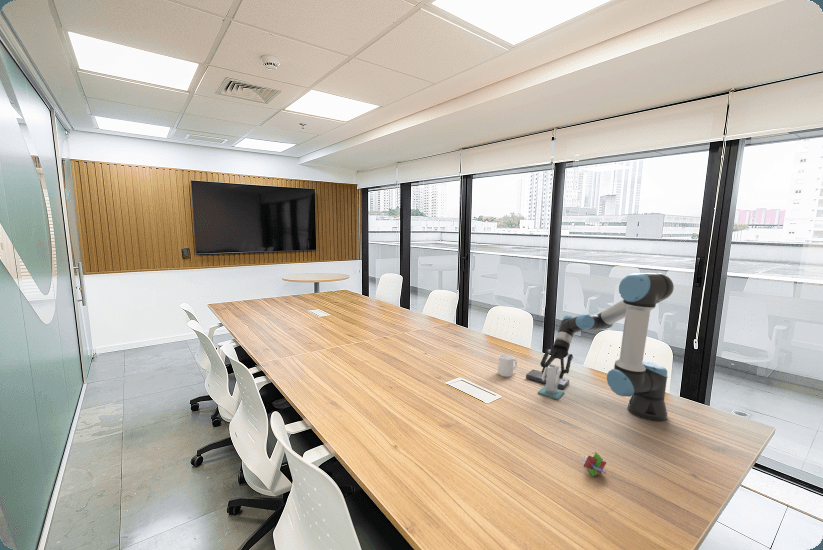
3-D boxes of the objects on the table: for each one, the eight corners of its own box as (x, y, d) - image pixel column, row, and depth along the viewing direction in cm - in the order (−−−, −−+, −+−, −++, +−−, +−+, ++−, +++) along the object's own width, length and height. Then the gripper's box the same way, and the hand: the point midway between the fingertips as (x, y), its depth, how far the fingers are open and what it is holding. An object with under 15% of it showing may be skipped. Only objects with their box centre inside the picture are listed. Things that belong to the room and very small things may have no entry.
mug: (511, 369, 209) (512, 352, 207) (521, 375, 201) (522, 357, 200) (494, 372, 204) (495, 355, 202) (504, 378, 196) (505, 360, 195)
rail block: (569, 383, 191) (569, 379, 191) (563, 389, 183) (563, 384, 183) (532, 373, 204) (533, 369, 203) (525, 378, 196) (526, 374, 196)
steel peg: (557, 391, 178) (559, 367, 177) (554, 394, 175) (556, 369, 174) (548, 388, 181) (550, 364, 180) (545, 391, 178) (547, 367, 176)
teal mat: (564, 393, 179) (564, 391, 179) (557, 400, 171) (558, 398, 171) (544, 387, 185) (544, 385, 185) (537, 393, 178) (537, 391, 178)
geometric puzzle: (604, 460, 122) (592, 443, 121) (616, 474, 116) (603, 455, 115) (586, 472, 123) (574, 455, 122) (597, 486, 116) (585, 468, 115)
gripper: (583, 350, 181) (571, 391, 171) (545, 342, 194) (532, 379, 183) (581, 342, 177) (568, 384, 166) (542, 335, 189) (529, 372, 178)
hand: (549, 381), depth 175 cm, fingers open, 6 cm apart
